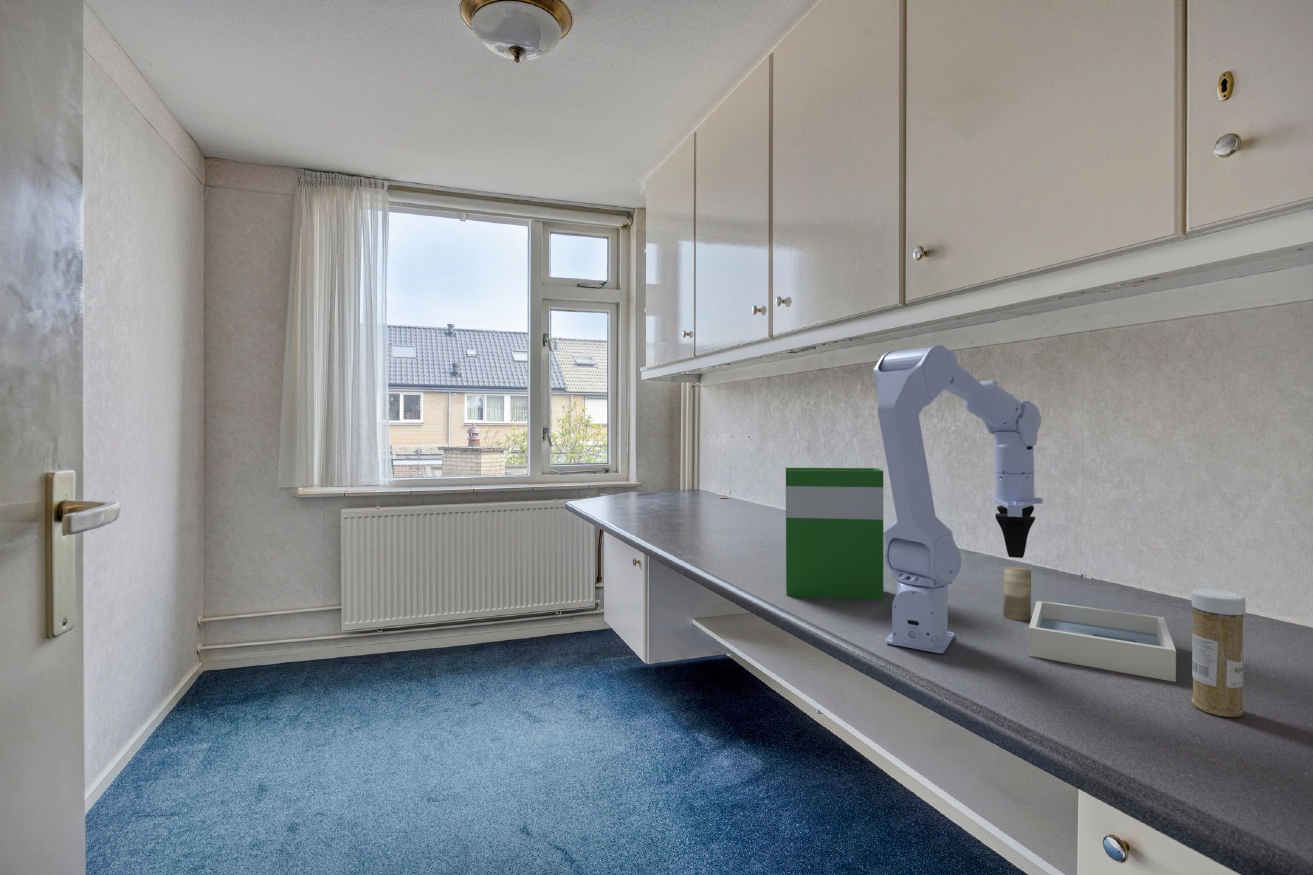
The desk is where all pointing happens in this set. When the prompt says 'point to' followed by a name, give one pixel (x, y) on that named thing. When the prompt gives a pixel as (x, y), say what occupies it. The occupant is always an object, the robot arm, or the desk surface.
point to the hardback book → (834, 532)
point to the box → (1103, 639)
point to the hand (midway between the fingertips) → (1016, 551)
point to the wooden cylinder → (1017, 593)
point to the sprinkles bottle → (1218, 652)
